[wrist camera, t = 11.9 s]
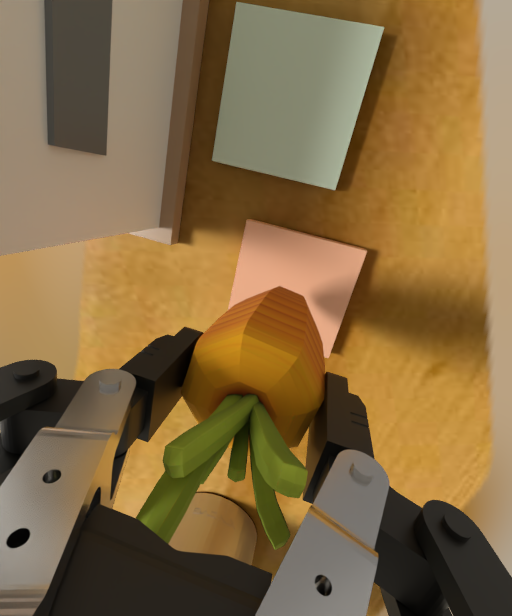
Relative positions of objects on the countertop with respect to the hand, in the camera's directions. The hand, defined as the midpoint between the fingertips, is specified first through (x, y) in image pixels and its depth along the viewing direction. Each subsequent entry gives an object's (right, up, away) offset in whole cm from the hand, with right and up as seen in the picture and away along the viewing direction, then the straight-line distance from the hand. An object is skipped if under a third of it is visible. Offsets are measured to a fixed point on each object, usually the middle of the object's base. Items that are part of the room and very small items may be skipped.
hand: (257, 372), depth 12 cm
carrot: (+2, +3, +8) cm, 9 cm away
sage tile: (+2, +15, +7) cm, 16 cm away
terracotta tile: (+3, +4, +11) cm, 12 cm away
